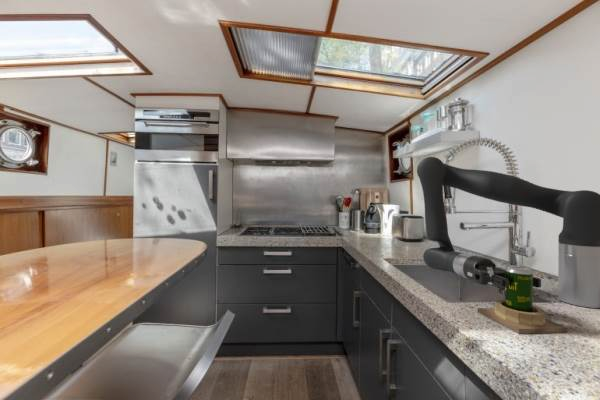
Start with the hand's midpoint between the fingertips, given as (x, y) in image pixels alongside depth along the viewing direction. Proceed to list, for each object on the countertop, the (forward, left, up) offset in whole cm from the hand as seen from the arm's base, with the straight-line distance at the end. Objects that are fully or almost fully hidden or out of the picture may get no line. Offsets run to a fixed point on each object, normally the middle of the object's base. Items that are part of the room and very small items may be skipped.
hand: (523, 283), depth 66 cm
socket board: (0, -1, -9) cm, 10 cm away
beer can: (0, -1, -9) cm, 9 cm away
